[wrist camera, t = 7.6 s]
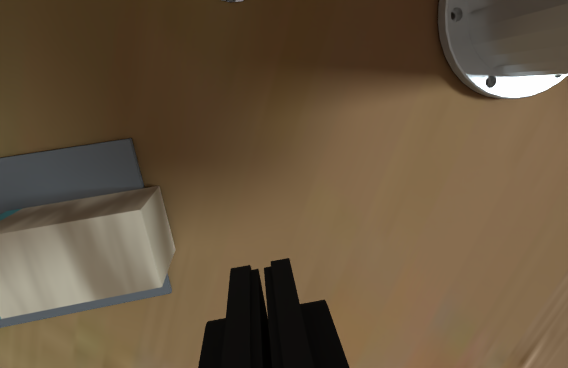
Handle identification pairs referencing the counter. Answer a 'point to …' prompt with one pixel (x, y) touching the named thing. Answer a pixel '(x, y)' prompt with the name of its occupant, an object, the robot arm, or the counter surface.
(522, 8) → the robot arm
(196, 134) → the counter surface
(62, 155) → the rubber mat
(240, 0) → the wineglass
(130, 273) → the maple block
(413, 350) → the counter surface
